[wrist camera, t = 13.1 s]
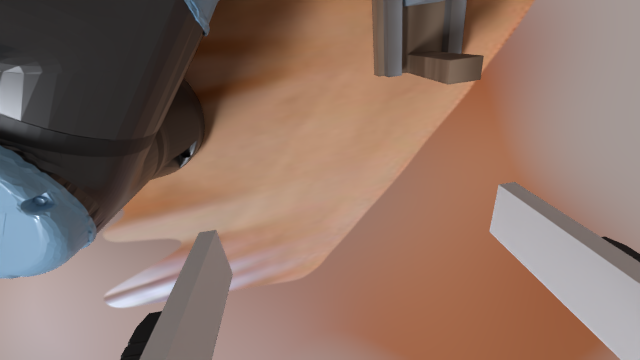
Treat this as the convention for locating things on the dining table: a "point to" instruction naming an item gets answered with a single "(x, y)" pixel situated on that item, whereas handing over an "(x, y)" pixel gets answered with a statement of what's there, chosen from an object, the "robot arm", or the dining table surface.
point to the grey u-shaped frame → (422, 41)
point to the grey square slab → (418, 2)
